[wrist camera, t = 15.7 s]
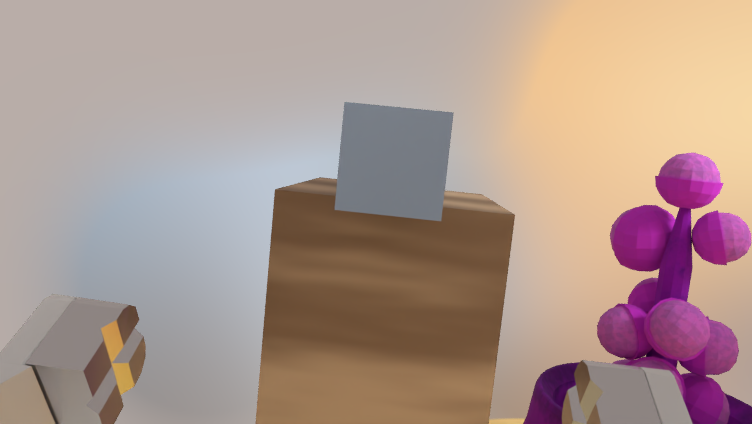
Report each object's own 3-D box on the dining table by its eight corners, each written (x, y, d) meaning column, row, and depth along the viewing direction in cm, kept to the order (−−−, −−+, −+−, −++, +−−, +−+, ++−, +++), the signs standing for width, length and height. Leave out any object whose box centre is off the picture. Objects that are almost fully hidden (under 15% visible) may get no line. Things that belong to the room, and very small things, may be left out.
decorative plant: (444, 541, 44) (493, 133, 41) (578, 471, 56) (624, 152, 53) (720, 752, 30) (828, 152, 27) (819, 597, 42) (902, 173, 39)
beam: (441, 221, 19) (453, 112, 19) (334, 209, 20) (344, 102, 19) (426, 180, 47) (431, 136, 47) (382, 176, 47) (386, 131, 47)
